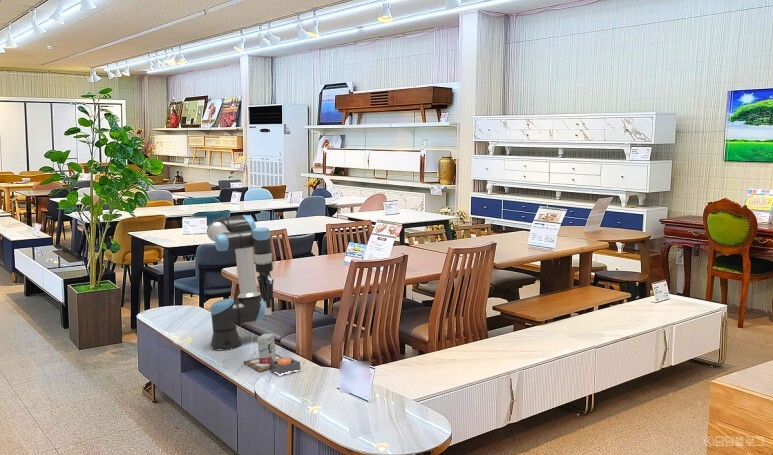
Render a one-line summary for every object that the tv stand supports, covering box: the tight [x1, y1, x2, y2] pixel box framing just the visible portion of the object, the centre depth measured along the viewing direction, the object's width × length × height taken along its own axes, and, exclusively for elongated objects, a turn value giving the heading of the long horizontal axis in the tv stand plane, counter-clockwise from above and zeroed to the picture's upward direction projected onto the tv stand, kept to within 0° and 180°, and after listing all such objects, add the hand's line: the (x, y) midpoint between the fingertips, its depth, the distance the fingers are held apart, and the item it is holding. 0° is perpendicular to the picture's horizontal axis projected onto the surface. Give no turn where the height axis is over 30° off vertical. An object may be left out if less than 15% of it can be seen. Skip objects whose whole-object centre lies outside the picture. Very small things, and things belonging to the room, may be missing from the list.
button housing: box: [269, 357, 301, 374], centre depth 297 cm, size 10×10×4 cm
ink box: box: [257, 333, 277, 364], centre depth 309 cm, size 9×5×12 cm, turn 167°
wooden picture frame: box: [243, 353, 284, 373], centre depth 310 cm, size 18×16×1 cm
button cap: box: [277, 356, 292, 366], centre depth 297 cm, size 6×6×4 cm
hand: (268, 314), depth 305 cm, fingers closed
